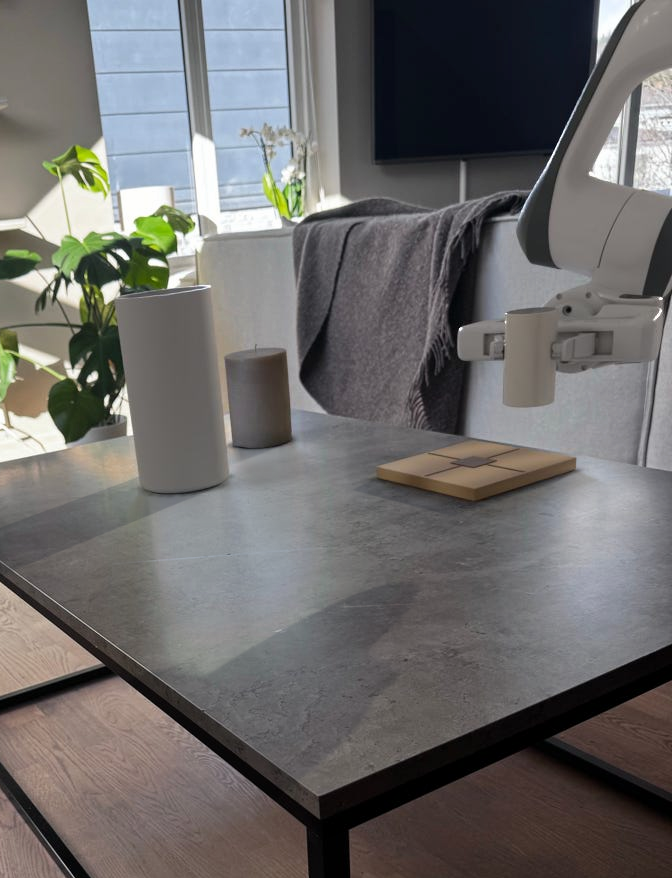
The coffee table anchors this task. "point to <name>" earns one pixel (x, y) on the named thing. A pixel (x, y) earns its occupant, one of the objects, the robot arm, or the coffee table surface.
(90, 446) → the coffee table surface
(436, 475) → the game board
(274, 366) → the pillar candle
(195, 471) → the cylinder vase
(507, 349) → the white cylinder
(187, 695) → the coffee table surface
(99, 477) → the coffee table surface
